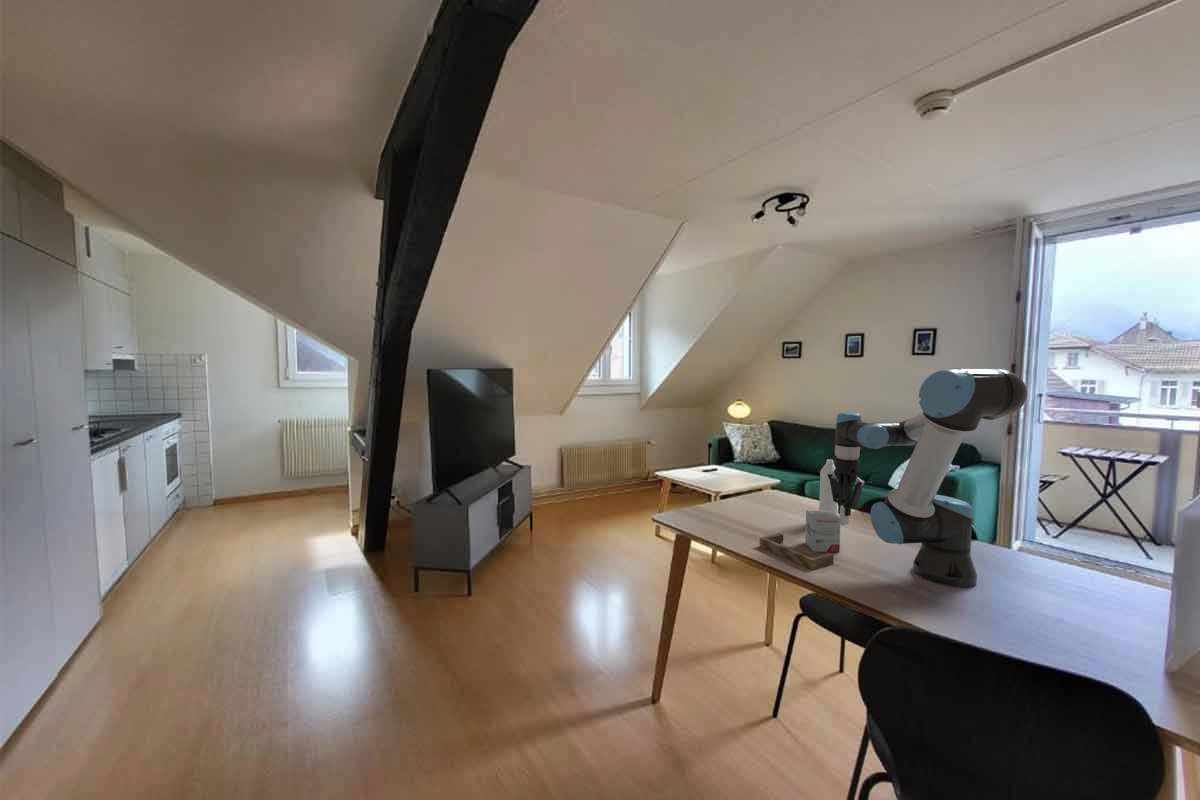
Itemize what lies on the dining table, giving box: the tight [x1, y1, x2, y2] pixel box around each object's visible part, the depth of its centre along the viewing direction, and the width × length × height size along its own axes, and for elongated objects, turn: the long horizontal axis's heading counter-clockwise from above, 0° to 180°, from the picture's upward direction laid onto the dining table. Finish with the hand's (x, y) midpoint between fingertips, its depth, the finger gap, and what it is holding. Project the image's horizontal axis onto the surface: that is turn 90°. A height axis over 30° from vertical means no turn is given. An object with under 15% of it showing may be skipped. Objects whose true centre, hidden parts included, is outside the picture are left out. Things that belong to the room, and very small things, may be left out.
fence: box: [759, 532, 835, 571], centre depth 155 cm, size 21×10×3 cm, turn 27°
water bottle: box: [818, 458, 838, 516], centre depth 183 cm, size 9×6×25 cm
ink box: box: [805, 509, 841, 553], centre depth 161 cm, size 9×9×12 cm
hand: (843, 523), depth 167 cm, fingers closed
